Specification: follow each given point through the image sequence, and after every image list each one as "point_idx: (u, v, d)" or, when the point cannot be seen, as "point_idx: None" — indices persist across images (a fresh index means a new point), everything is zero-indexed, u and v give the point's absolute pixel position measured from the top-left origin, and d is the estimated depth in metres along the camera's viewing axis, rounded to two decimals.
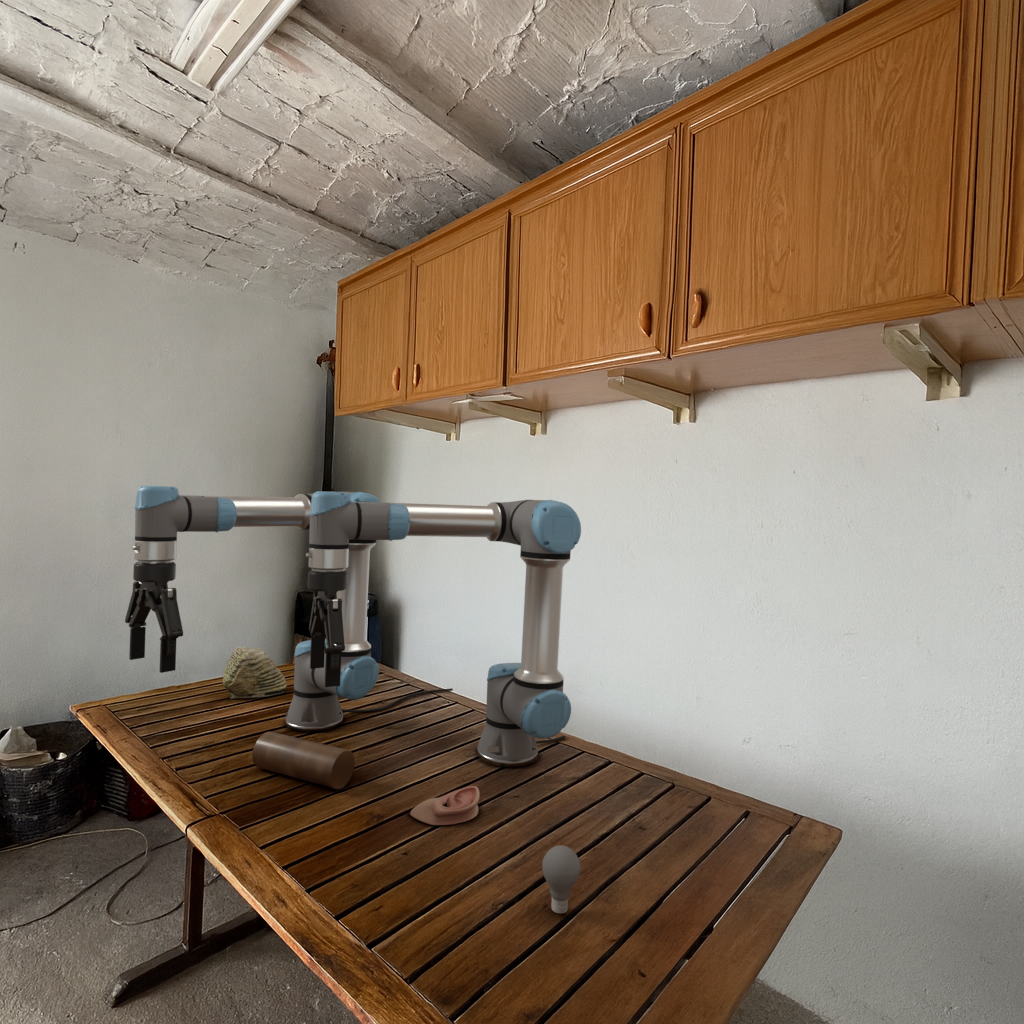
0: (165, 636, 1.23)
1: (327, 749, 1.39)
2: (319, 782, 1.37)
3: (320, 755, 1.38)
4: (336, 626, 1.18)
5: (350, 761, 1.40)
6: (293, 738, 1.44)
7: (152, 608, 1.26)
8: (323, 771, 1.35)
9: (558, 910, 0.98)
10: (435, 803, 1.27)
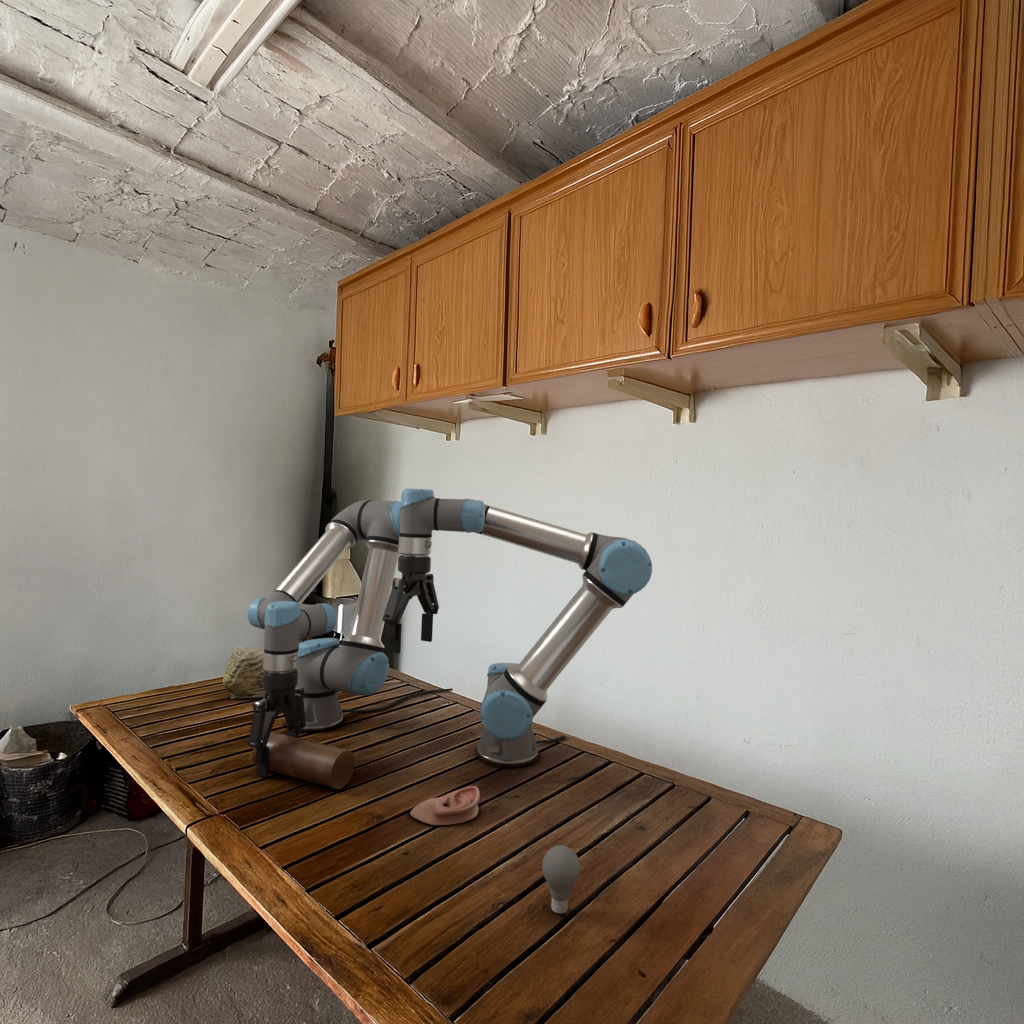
0: None
1: (327, 749, 1.39)
2: (319, 782, 1.37)
3: (320, 755, 1.38)
4: None
5: (350, 761, 1.40)
6: (293, 738, 1.44)
7: (293, 708, 1.47)
8: (323, 771, 1.35)
9: (558, 910, 0.98)
10: (435, 803, 1.27)
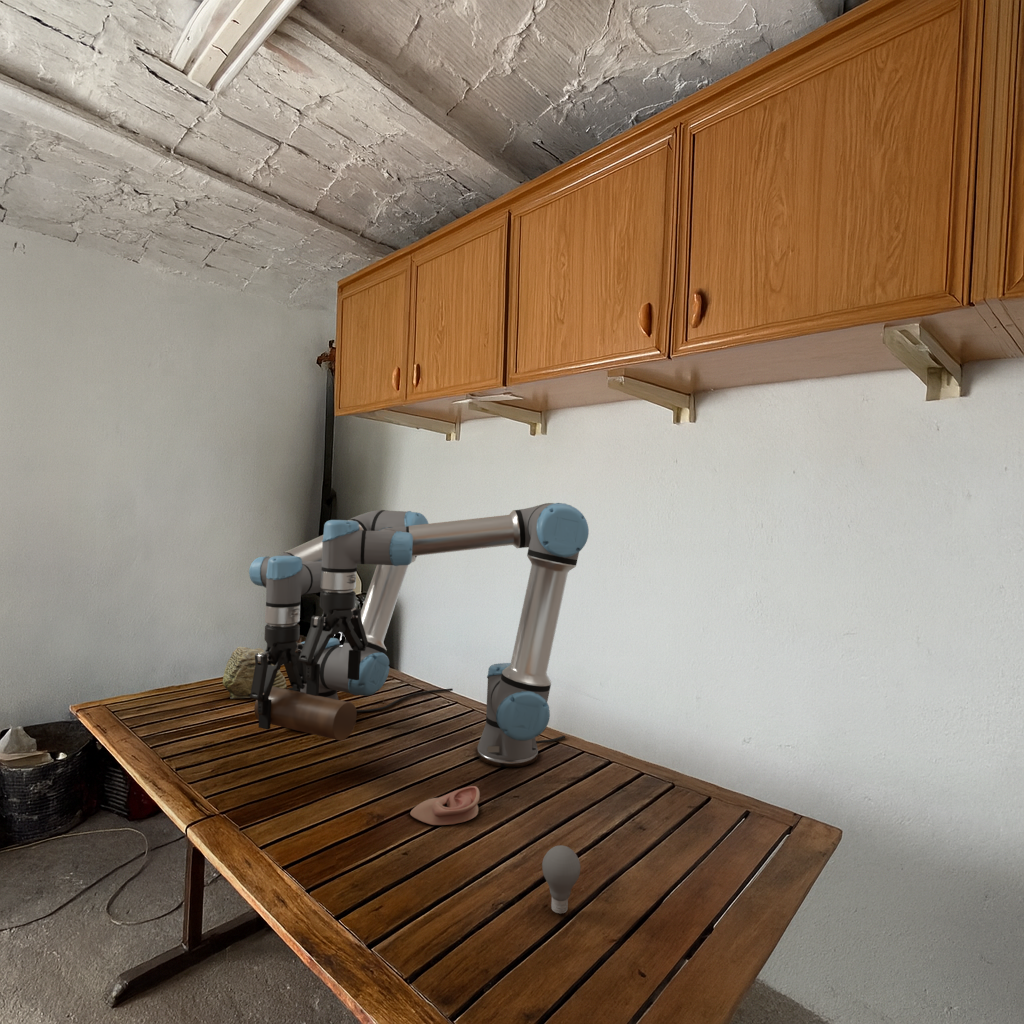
0: None
1: (329, 701, 1.39)
2: (321, 733, 1.37)
3: (322, 706, 1.37)
4: None
5: (352, 713, 1.40)
6: (295, 692, 1.44)
7: (294, 663, 1.47)
8: (325, 721, 1.35)
9: (558, 910, 0.98)
10: (435, 803, 1.27)
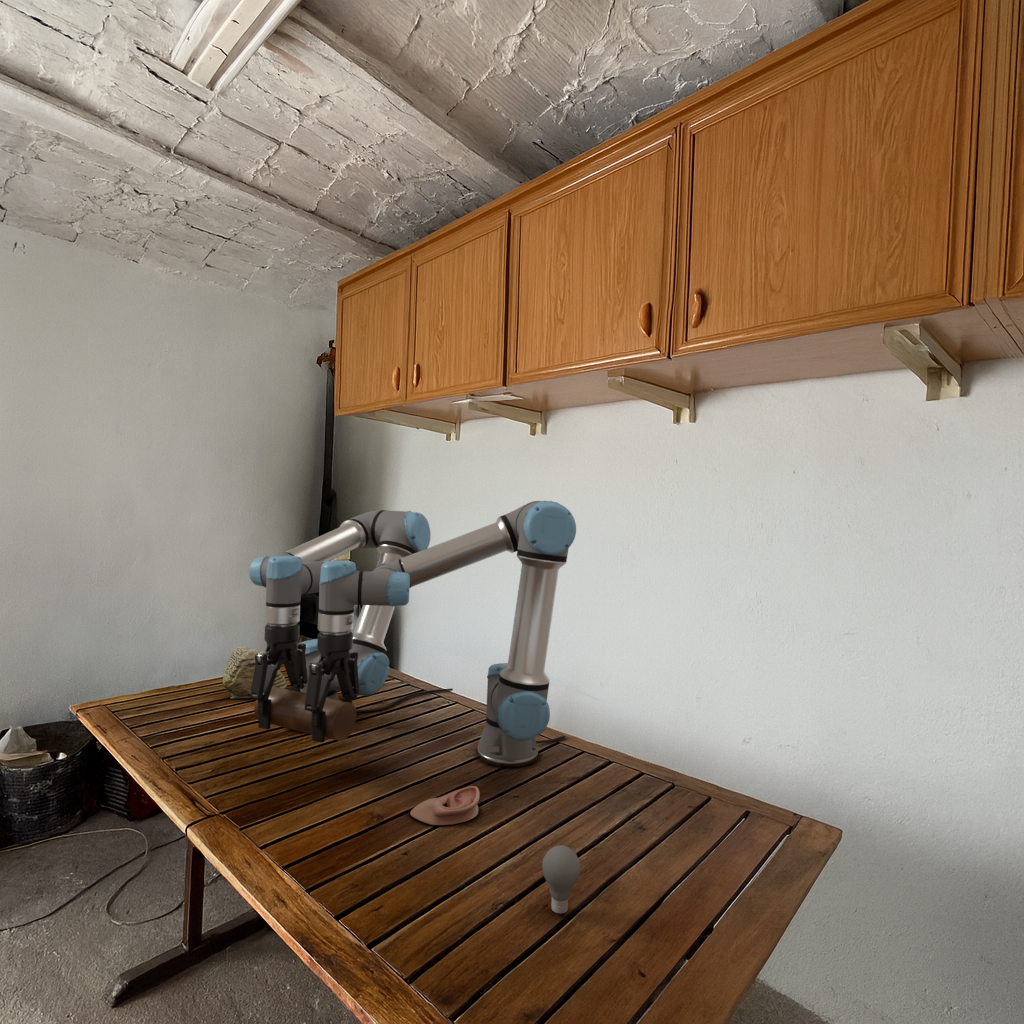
0: None
1: (329, 701, 1.39)
2: None
3: None
4: None
5: (352, 714, 1.40)
6: (295, 692, 1.44)
7: (294, 663, 1.47)
8: (325, 721, 1.35)
9: (558, 910, 0.98)
10: (435, 803, 1.27)
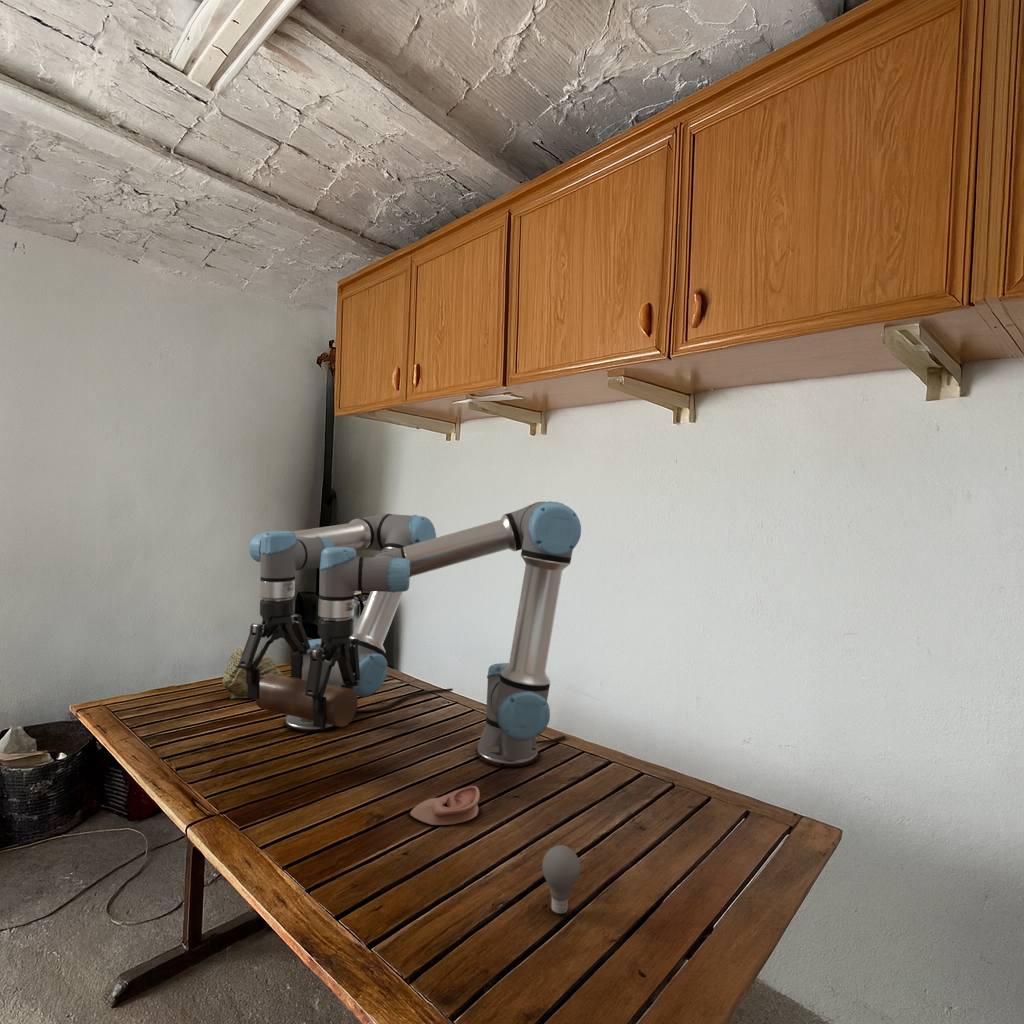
0: None
1: (330, 687, 1.39)
2: None
3: None
4: None
5: (353, 700, 1.40)
6: (296, 678, 1.44)
7: (293, 634, 1.49)
8: (326, 707, 1.35)
9: (558, 910, 0.98)
10: (435, 803, 1.27)
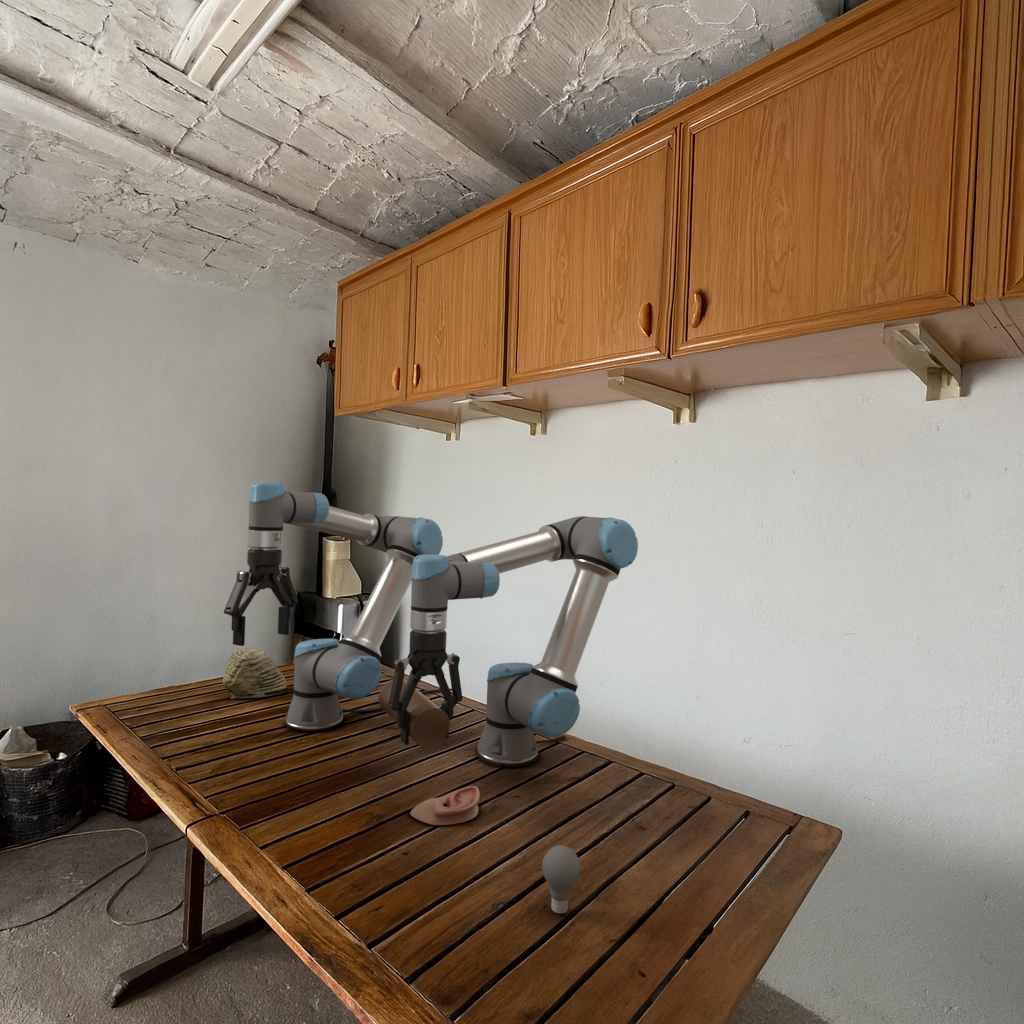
0: None
1: (422, 703, 1.31)
2: None
3: (413, 707, 1.30)
4: None
5: (443, 721, 1.29)
6: None
7: (280, 586, 1.50)
8: (409, 723, 1.28)
9: (558, 910, 0.98)
10: (435, 803, 1.27)
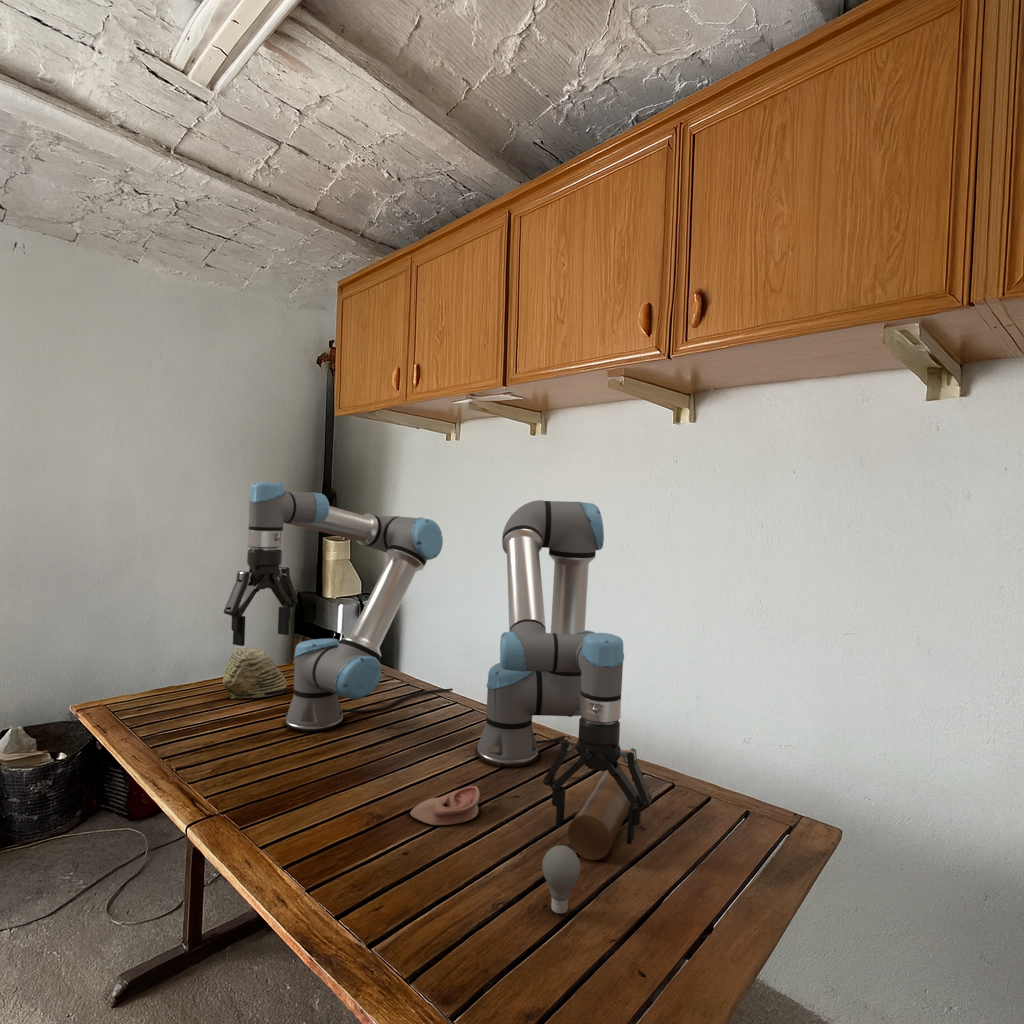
0: None
1: (591, 806, 1.18)
2: None
3: (583, 806, 1.19)
4: (642, 779, 1.15)
5: (603, 835, 1.14)
6: (610, 784, 1.28)
7: (280, 586, 1.50)
8: None
9: (558, 910, 0.98)
10: (435, 803, 1.27)
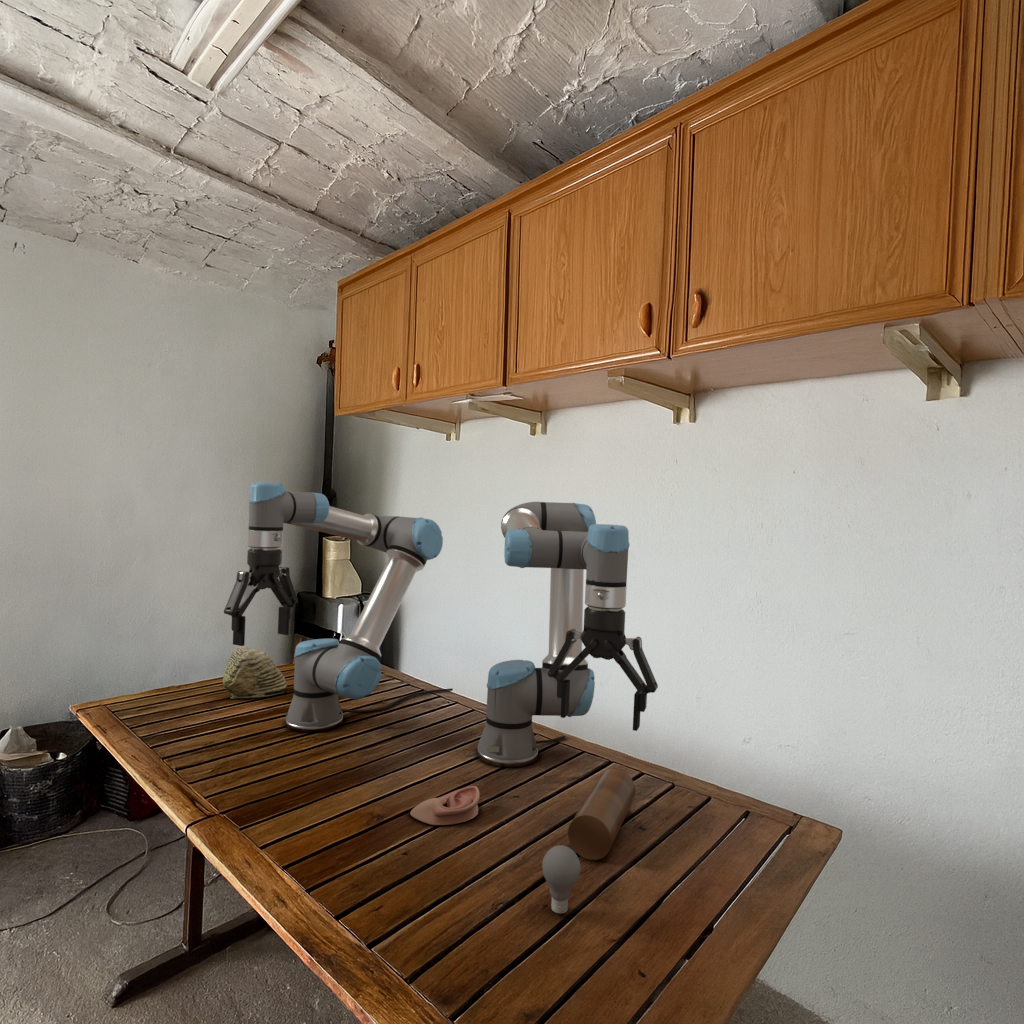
0: None
1: (591, 806, 1.18)
2: None
3: (583, 806, 1.19)
4: (647, 665, 1.14)
5: (603, 835, 1.14)
6: (610, 784, 1.28)
7: (280, 586, 1.50)
8: None
9: (558, 910, 0.98)
10: (435, 803, 1.27)
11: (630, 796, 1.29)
